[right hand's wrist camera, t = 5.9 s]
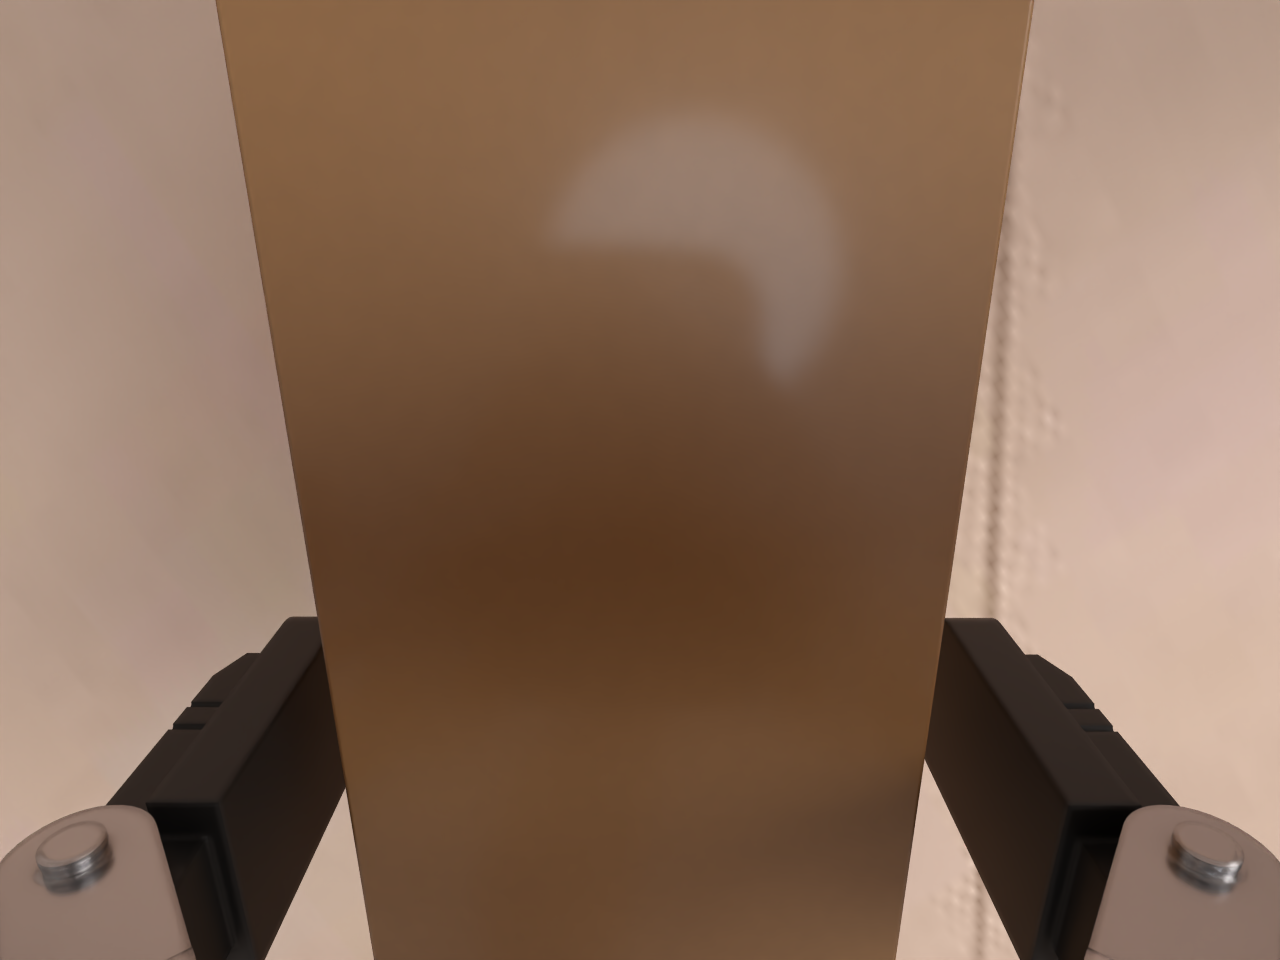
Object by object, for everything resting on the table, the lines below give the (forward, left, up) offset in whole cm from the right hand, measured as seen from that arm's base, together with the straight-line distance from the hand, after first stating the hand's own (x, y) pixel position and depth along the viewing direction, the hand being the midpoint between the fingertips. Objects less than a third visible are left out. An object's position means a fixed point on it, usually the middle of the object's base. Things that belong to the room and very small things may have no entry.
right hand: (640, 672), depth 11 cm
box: (+4, +8, -8) cm, 12 cm away
